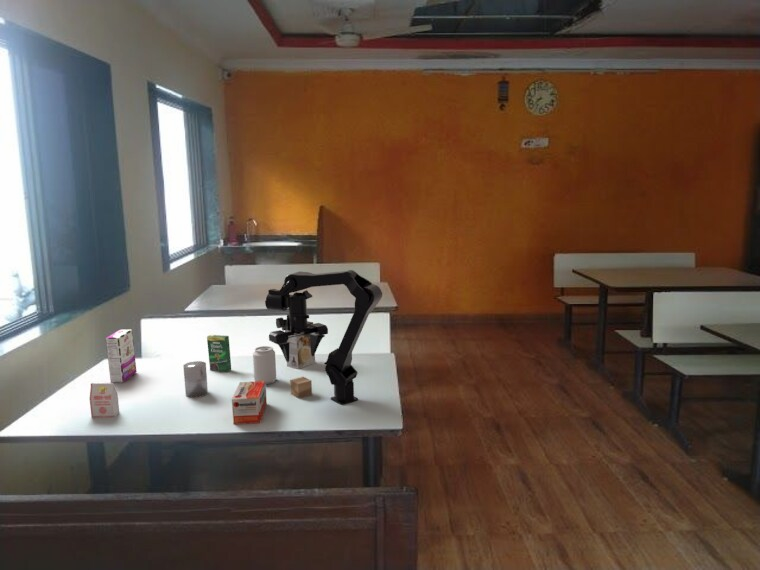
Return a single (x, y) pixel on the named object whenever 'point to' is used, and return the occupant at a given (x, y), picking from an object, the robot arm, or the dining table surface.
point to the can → (264, 364)
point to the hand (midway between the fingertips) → (300, 358)
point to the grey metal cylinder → (195, 379)
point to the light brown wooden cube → (301, 387)
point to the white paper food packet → (103, 400)
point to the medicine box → (249, 402)
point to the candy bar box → (121, 355)
